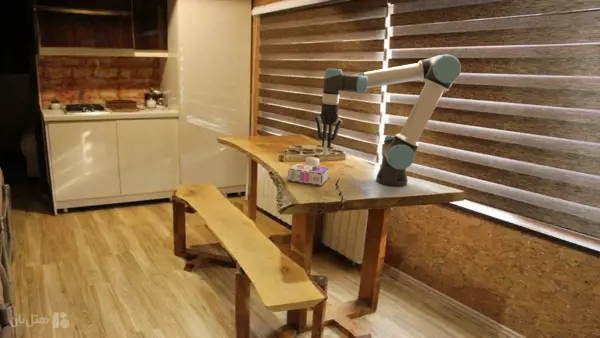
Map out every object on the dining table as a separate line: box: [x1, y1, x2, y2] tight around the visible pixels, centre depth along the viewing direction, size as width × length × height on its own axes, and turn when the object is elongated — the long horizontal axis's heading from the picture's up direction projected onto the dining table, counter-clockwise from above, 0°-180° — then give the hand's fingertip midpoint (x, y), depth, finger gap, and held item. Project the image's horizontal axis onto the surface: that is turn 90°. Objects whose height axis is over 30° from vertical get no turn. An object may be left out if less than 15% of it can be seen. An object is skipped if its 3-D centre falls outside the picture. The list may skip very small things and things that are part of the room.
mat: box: [291, 176, 330, 187], centre depth 221 cm, size 12×18×1 cm, turn 157°
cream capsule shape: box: [304, 156, 320, 167], centre depth 236 cm, size 7×7×7 cm
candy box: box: [287, 163, 329, 186], centre depth 218 cm, size 14×6×16 cm
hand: (325, 154), depth 214 cm, fingers closed
